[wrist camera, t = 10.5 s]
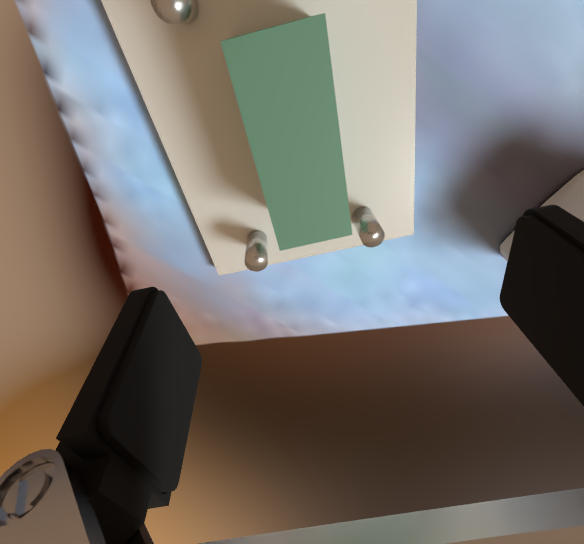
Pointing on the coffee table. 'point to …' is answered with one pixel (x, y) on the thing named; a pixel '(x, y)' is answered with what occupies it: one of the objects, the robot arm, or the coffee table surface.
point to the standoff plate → (230, 128)
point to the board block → (293, 127)
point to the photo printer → (571, 197)
